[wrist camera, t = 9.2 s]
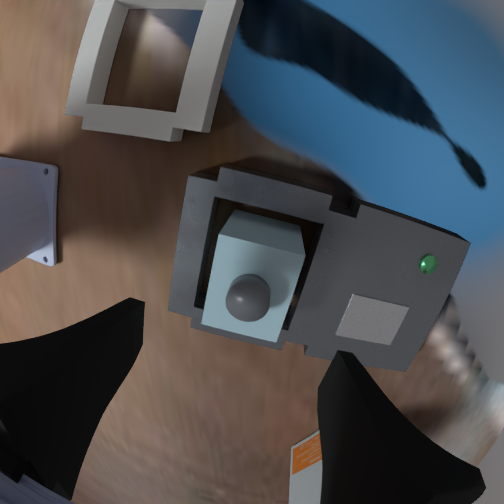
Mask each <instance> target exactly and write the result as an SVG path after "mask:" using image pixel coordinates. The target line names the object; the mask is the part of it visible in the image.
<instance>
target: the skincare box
mask: <svg viewBox="0 0 504 504" xmlns="http://www.w3.org/2000/svg"><path fill="white" fill-rule="evenodd" d="M321 486H322V453H321V443H320V433H319V430H318V431H317V432H315V433H314V434H312V435H311V436H309V437H307V438H306V439H304V440H302V441H301V442H299V443H297V444H296V445H294V446H292V447H291V468H290V491H289V504H320V498H321Z"/></svg>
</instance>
